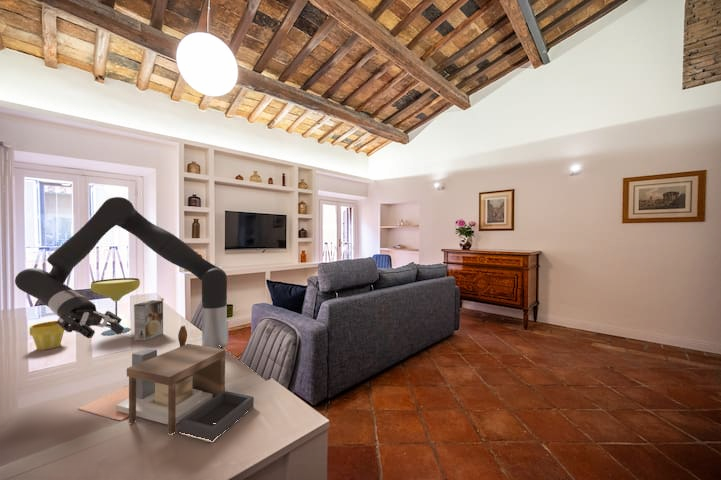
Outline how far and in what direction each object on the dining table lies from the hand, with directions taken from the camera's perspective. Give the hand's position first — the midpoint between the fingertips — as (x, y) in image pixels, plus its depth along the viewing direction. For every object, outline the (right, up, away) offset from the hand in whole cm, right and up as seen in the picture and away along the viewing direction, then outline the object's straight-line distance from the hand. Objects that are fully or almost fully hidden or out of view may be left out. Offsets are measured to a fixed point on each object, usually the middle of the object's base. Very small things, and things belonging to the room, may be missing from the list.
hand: (107, 333), depth 84 cm
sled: (+22, -17, -7) cm, 29 cm away
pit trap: (+40, -18, -12) cm, 45 cm away
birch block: (+25, -16, -8) cm, 31 cm away
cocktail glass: (-44, -17, +53) cm, 71 cm away
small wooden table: (+27, -18, -9) cm, 34 cm away
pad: (+10, -18, -3) cm, 20 cm away
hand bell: (+15, -18, +12) cm, 26 cm away
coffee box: (-23, -17, +47) cm, 55 cm away
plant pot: (-55, -17, +34) cm, 67 cm away
